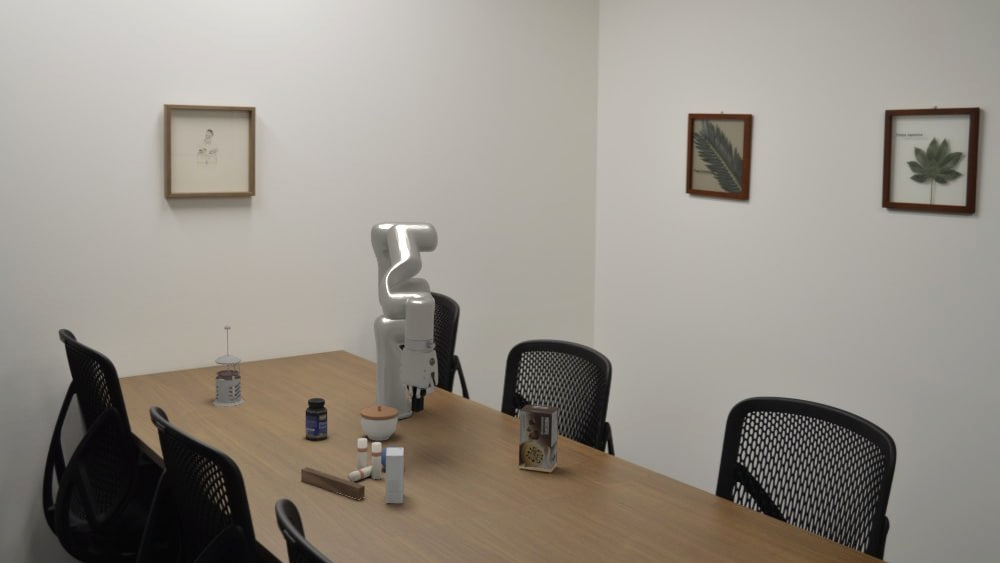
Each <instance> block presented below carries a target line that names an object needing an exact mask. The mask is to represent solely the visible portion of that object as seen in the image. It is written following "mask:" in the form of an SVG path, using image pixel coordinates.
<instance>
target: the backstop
mask: <svg viewBox="0 0 1000 563" xmlns="http://www.w3.org/2000/svg"><path fill="white" fill-rule="evenodd" d="M300 475H301V478H300V479H301V482H303V483H307V484H310V485H313V486H316V487H319V488H321V487H322V489H324V490H327V489H328V490H327V491H330V490H331V491H330V492H333V491H335V492H338V493H341V494H343V495H342V496H344V495H347V496H350V497H353V498H356V499H360V498H363V497H365V496H366V494H365V493H366V492H365V490H366V489H365V488H366V487H365V485H363V484H360V483H356V482H351V481H350V480H349V479H348V480H347V479H345V478H341V477H339V476H335V475H332V474H330V473H327V472H324V471H320V470H317V469H314V468H311V467H309V466H307V467H303V468H301V474H300ZM335 492H334V493H335ZM338 493H337V494H338ZM341 494H340V495H341ZM347 496H346V497H347ZM350 497H349V498H350ZM353 498H352V499H353ZM356 499H355V500H356ZM363 499H364V498H363Z"/></svg>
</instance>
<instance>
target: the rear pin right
mask: <svg viewBox="0 0 1000 563" xmlns="http://www.w3.org/2000/svg"><path fill="white" fill-rule="evenodd" d="M356 452H357V462H356V463H357V464H356V465H357V467H356V468H357V470H359V469H362V468H365V467H368V439H367V438H366V437H359V438H357V451H356Z"/></svg>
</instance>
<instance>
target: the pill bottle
mask: <svg viewBox="0 0 1000 563" xmlns="http://www.w3.org/2000/svg"><path fill="white" fill-rule="evenodd" d="M325 401H326V399H324V398H321V397H313V398H310V399H309V398H308V400H307V405H308V407H307V408H305V438H306V439H307V440H310V441H317V440H318V441H323V440H325V439H326V438H328V409H327V408H326V407H325V405H326V402H325Z"/></svg>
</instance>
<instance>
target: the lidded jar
mask: <svg viewBox="0 0 1000 563" xmlns="http://www.w3.org/2000/svg"><path fill="white" fill-rule="evenodd" d="M359 413H360V414H359V415H360V426H361V429H362V431H363V433H364V434H365V436H367V437H368V439H369V440H370V441H371V440H372V441H375V442H381V441H387V440H389V439H390V437H391V436H392V435H394V433H395V431H396V430H397V427H398V420H399V419H398V410H397V409H395V408H392V407H386V406H381V405H378V406H376V405H375V406H373V405H372V406H368V407H365V408H363V409H361V410H360V412H359Z"/></svg>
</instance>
